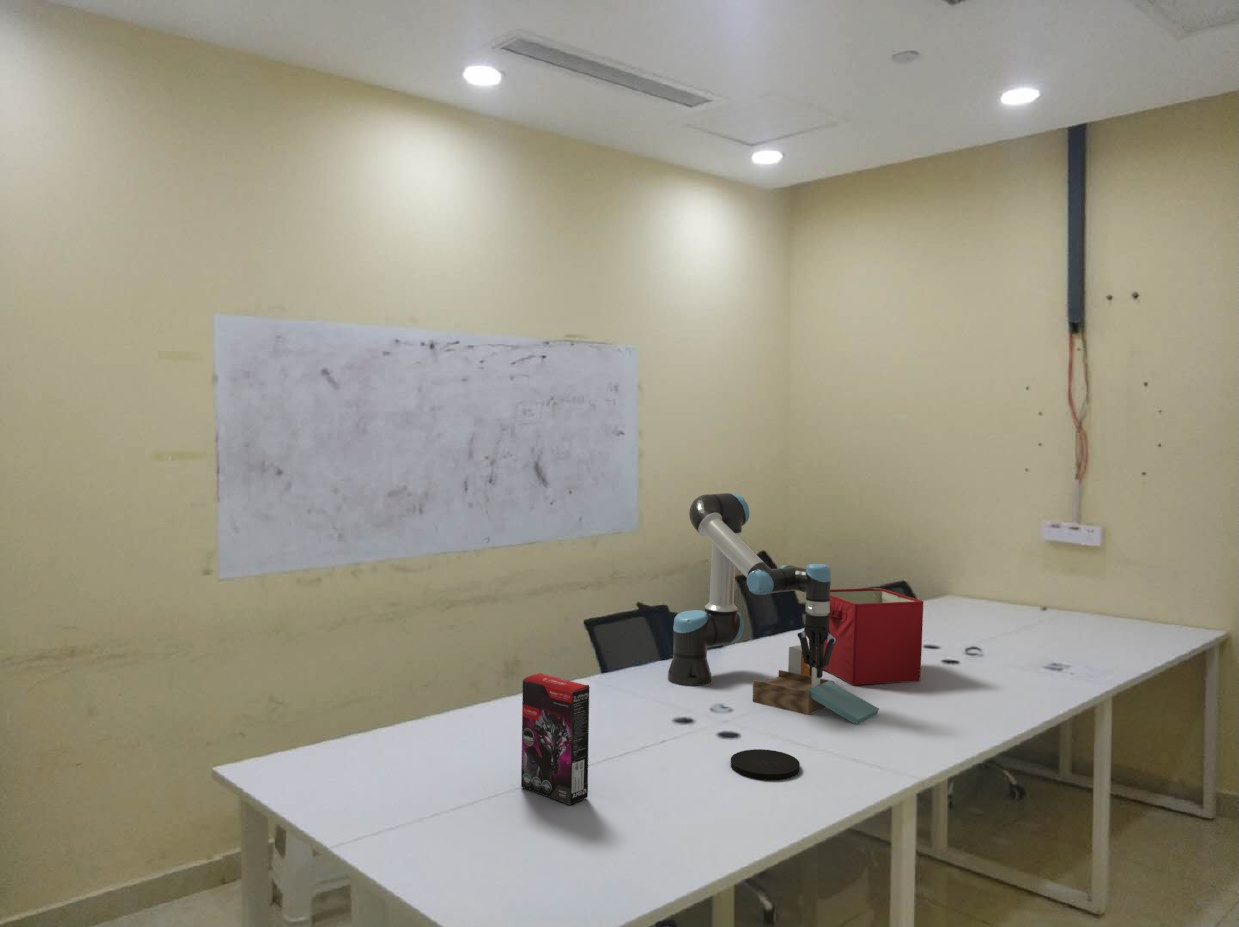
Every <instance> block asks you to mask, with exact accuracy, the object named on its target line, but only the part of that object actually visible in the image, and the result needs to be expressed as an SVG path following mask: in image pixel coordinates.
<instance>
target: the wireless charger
mask: <svg viewBox="0 0 1239 927" xmlns="http://www.w3.org/2000/svg"><path fill="white" fill-rule="evenodd" d="M800 767H801V763H800V760H798V759H797V758H796V757H795V756H793V755H791V754H788V753H786V752H784V751H783V752H782V751H779V750H774V749H773V750H772V749H762V748H761V749H760V748H759V749H757V748H756V749H755V748H754V749H745V750H741V751H738V752H735V753H734V754H732V755H731V757H730V768H731V770H732V771H733V772H734V773H736V774H738V775H739V776H741V777H744V778H748V779H752V780H758V781H765V782H767V781H769V782H771V781H773V782H774V781H786V780H789V779H790V780H791V779H792V778H795V777H796V776H798V775H799V774H800V771H801V769H800Z"/></svg>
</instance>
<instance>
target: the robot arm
mask: <svg viewBox="0 0 1239 927" xmlns="http://www.w3.org/2000/svg"><path fill="white" fill-rule="evenodd" d="M688 512H689V513H688V514H689V520H690V523H691V525H692V526H693V528H694V530H696V532H697V533H698V534H699V535H700V536H701V537H706V538H707V539H708V540H709V541H711V561H710V562H711V564H710V578H709V579H710V581H709V585H710V586H709V601H708V602H707V604H706V605H704V610H700V609H695V610H691V609H690V610H686V611H685V610H684V611H682V612H679V613H677V614H676V616H674V620H673V627H672V628H673V645H672V646H673V649H672V650H673V653H672V654H673V656H672V660H671V663H670V666H669V669H668V671H667V680H668V681H669V682H671V683H673V684H678V685H682V686H683V685H684V686H700V685H701V686H702V685H706V684H709V683H711V681H712V672H711V669H710V666H709V661H708V657H707V656H708V655H707V654H708V653H707V651H708V648H713V647H718V646H727V645H729V644H733V643H735V642H737V641H738V640H740V638H741V637H742V635H743V632H744V619H743V618H742V617H743V616H742V615H741V613H740V612H738V607H737V606H736V604H735V603H734V602H735V601H734V600H735V598H734V597H735V580H736V569H738V571H739V572H741V574H742V575H743V576H745V578H746V586H747V587H748V590H749V592H751V594H754V595H762V596H764V595H769V594H774V593H775V594H776V593H782V592H783V593H784V592H791V591H796V592H801V593H805V612H806V614H805V616H804V617H805V618H804V624H805V626H804V629H803V631H801V632H797V634H796V635H797V638H798V639H799V641H800V645H801V648H802V654H803V659H804V663H805V664H808V665H809V666H810V676H811V677H812V688H813V687H815V686H818V685H820V679H823V671H824V669H823V667H826V666H828V665H829V661H830V658H831V654H832V650H833V646H834V644H835V642H836V641H837V638H834V637H832V636H831V635H830V631H829V623H830V616H829V613H830V590H831V585H832V583H831V582H832V581H831V580H832V574H831V573H832V572H831V571H832V570H831V567H830V566H829V565H828V564H824V563H810V564H809V563H808V564H807V565H806V568H805V567H799V566H795V565H790V564H789V565H787V564H783V565H780V566H779V568H771V567H769V565H767V564H766V562H764V561H763V560H762V558H760V557H759V556H758V555H757V554H756V553H755V551H754V550H752V549H751V548H750V547H749V546H748V545H747V544H746V543H745V542H744V541H743V540H742V539H741V538H740V537H739V536H740V535H741V534H742V531H743V530H742V529H743V526H744V525H746V524H747V522H748V521H749V519H750V507H749V505H748V502H747V501H746V500H745V498H744V497H743V496H742V495H741V494H739V493H738V494H737V493H730V492H725V493H712V494H711V493H710V494H709V493H708V494H701V495H699V496H698V497H696V498H695V499H694V500H693V501H692V502H691V504H690V507H689V511H688ZM827 638H828V640H827V642H828V643H827V646H826V650H825V654H824V645H825V641H826V639H827ZM808 645H809V646H810V647H808ZM816 649H817V661H816ZM815 665H816V666H815Z"/></svg>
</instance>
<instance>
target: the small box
mask: <svg viewBox="0 0 1239 927" xmlns="http://www.w3.org/2000/svg"><path fill="white" fill-rule="evenodd" d="M808 647H810V646H809V644H808ZM816 661H817V649H816ZM787 666H788V669H787V672H792V673H797V674H801V675H806V676H810V666H809V665H808V664H805V663H804V659H803V654H802V648H801V644H800V645H799V644H798V645H794V646H789V647H788V665H787ZM815 666H816V665H815Z"/></svg>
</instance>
